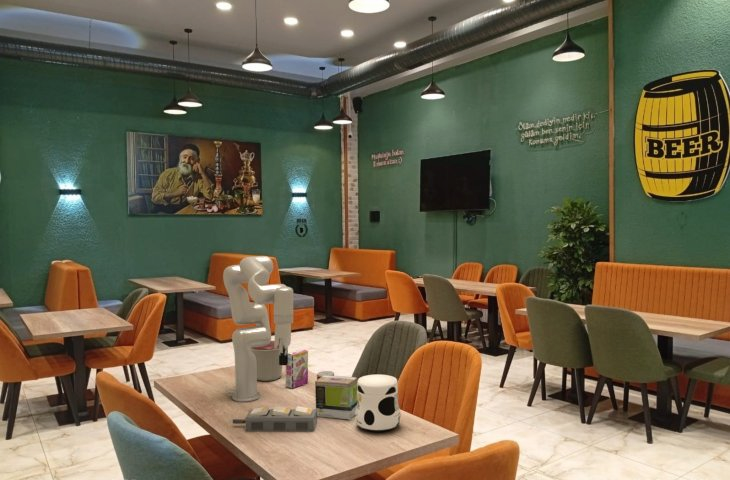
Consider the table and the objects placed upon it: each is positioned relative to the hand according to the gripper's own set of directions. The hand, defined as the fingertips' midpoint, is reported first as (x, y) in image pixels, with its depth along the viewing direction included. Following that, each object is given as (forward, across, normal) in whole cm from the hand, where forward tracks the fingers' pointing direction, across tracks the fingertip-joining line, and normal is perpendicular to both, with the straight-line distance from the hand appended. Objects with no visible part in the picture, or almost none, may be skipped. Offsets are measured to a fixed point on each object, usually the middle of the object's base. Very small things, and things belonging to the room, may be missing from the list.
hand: (283, 364), depth 212 cm
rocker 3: (+16, +6, +9) cm, 20 cm away
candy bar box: (+24, -46, -3) cm, 52 cm away
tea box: (+23, -8, +20) cm, 31 cm away
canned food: (+24, -28, +13) cm, 39 cm away
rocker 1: (+17, +6, -8) cm, 20 cm away
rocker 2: (+17, +6, 0) cm, 18 cm away
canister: (+25, -58, -20) cm, 66 cm away
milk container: (+22, +5, +38) cm, 44 cm away
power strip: (+23, +6, -2) cm, 24 cm away
